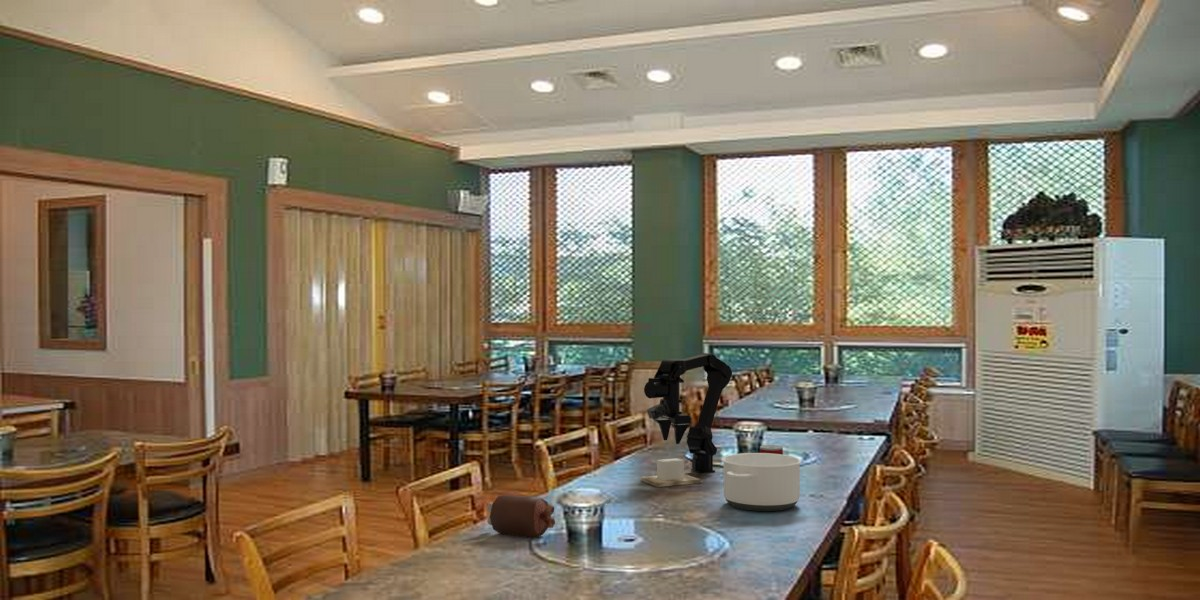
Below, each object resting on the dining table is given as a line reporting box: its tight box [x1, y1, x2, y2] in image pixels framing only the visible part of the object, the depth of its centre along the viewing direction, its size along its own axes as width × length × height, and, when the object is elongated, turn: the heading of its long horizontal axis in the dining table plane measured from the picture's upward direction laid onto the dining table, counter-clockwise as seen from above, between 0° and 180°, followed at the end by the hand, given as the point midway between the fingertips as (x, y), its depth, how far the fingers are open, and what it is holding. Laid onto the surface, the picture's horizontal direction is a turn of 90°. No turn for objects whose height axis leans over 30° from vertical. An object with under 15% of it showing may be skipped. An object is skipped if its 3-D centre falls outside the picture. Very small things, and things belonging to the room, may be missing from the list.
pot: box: [721, 452, 802, 512], centre depth 277 cm, size 33×23×14 cm
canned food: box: [759, 444, 784, 455], centre depth 318 cm, size 8×8×11 cm
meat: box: [486, 494, 556, 539], centre depth 243 cm, size 20×12×10 cm, turn 63°
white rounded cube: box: [656, 457, 685, 480], centre depth 314 cm, size 8×5×6 cm, turn 113°
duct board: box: [640, 473, 701, 488], centre depth 314 cm, size 16×12×5 cm
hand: (671, 442), depth 322 cm, fingers open, 9 cm apart
